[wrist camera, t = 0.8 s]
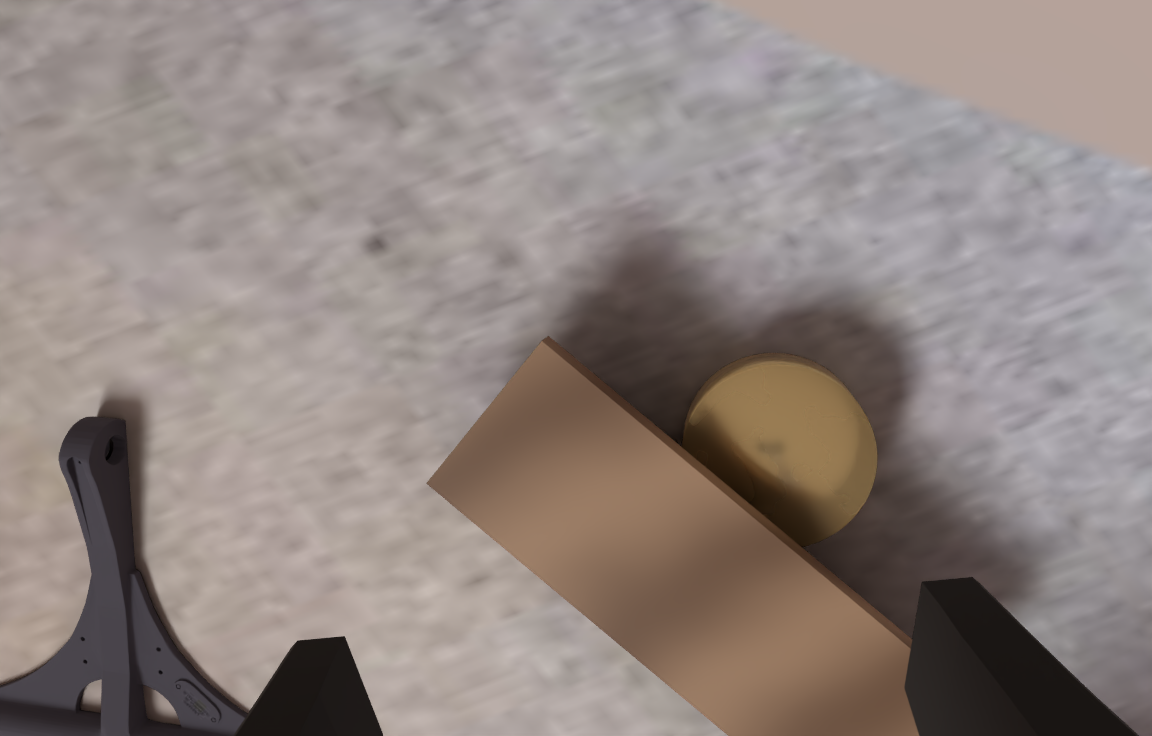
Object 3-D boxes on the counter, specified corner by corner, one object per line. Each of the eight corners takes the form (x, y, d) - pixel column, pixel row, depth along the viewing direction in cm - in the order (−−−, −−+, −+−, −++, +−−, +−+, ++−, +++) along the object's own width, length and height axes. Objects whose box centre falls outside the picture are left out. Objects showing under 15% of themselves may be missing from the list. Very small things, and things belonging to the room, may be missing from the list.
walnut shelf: (965, 656, 28) (1005, 728, 24) (843, 764, 30) (863, 848, 26) (565, 322, 28) (541, 340, 24) (463, 447, 30) (426, 483, 26)
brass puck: (901, 430, 27) (920, 452, 25) (779, 553, 29) (785, 585, 26) (764, 315, 27) (769, 326, 25) (648, 444, 29) (643, 466, 26)
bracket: (291, 427, 32) (250, 447, 29) (298, 767, 34) (263, 814, 32) (-33, 396, 34) (-98, 412, 31) (0, 717, 37) (-57, 758, 34)
